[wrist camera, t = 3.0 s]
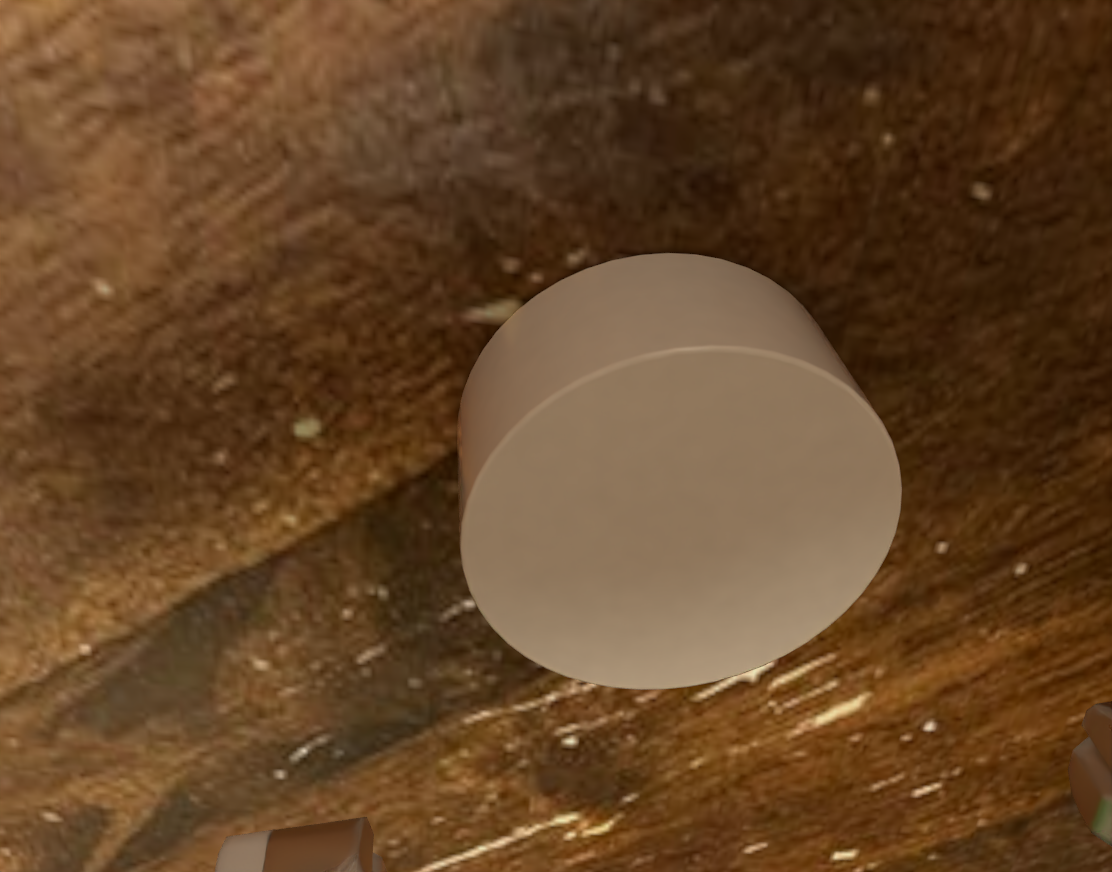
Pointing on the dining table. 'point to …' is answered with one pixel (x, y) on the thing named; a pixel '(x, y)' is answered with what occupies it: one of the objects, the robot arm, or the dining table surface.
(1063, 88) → the dining table surface
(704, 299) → the beige hockey puck
